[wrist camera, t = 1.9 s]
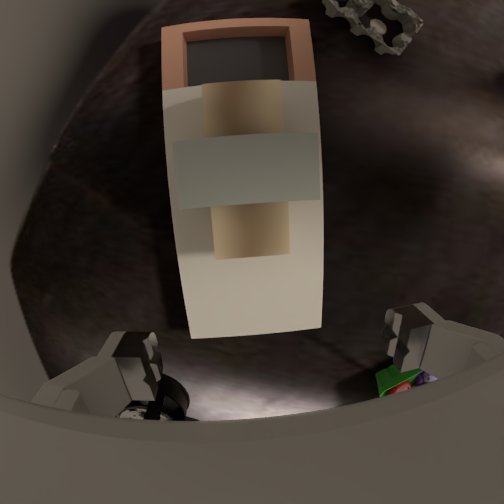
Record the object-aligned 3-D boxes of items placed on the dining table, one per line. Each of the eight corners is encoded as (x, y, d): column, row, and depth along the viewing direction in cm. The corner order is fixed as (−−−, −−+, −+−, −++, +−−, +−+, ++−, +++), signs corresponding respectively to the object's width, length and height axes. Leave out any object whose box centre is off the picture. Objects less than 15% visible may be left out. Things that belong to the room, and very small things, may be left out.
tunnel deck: (302, 30, 24) (323, -6, 16) (314, 314, 34) (335, 356, 26) (167, 38, 24) (147, 3, 16) (194, 324, 33) (184, 370, 25)
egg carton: (411, 34, 24) (429, 24, 21) (384, 66, 26) (402, 57, 22) (344, -22, 22) (356, -38, 18) (311, 6, 23) (320, -10, 20)
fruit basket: (432, 335, 37) (473, 380, 26) (433, 373, 39) (466, 416, 29) (366, 370, 38) (397, 426, 27) (374, 404, 40) (399, 455, 29)
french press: (118, 401, 37) (74, 528, 15) (126, 359, 35) (65, 508, 13) (191, 426, 39) (178, 559, 17) (209, 388, 37) (200, 547, 15)
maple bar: (273, 90, 24) (280, 79, 20) (282, 240, 28) (290, 254, 24) (206, 94, 24) (201, 83, 20) (218, 245, 28) (215, 259, 24)
